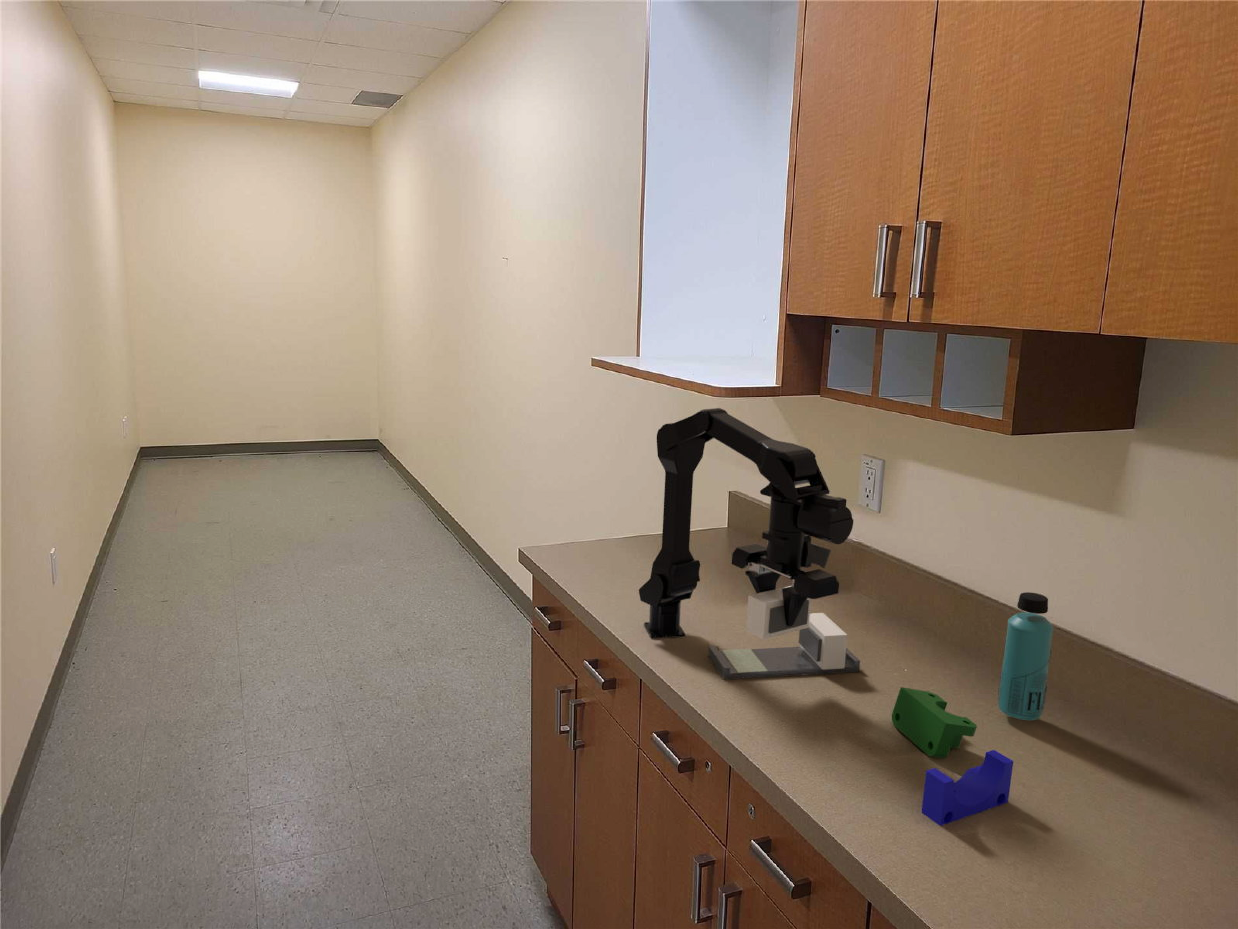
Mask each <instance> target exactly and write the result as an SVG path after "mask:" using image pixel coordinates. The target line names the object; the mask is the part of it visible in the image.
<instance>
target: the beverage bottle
mask: <svg viewBox="0 0 1238 929" xmlns="http://www.w3.org/2000/svg"><path fill="white" fill-rule="evenodd" d="M1017 609H1019V610H1021V611H1022V612H1018V613H1015V614H1014V615H1012V616H1011V617H1010V618H1008V619H1007V629H1006V637H1005V646H1004V647H1005V648H1004V653H1003V654H1004V655H1003V658H1002V661H1003V662H1002V666H1001V674H1000V675H999V677H1000V678H999V680H1000V681H999V686H998V687H999V688H998V691H997V693H998V694H997V701H996V703H997V705H998V709H999V710H1000V711H1001V713H1003V714H1005V715H1007V716H1009V717H1011V718H1014V719H1018V720H1022V721H1023V720H1024V721H1036V720H1038V719H1040V718H1041V717H1042V715H1043V712H1044V709H1045V708H1044V707H1045V706H1044V705H1045V703H1046V695H1047V683H1048V672H1049V666H1050V664H1051V662H1050V659H1051V656H1052V639H1053V632H1054V625H1052V623H1051V622H1050V621H1049V620H1048V619H1047V618H1046V617H1045V616H1043V615H1041V614H1047V613H1048V610H1049V598H1048V597H1047V596H1046V595H1043V594H1041V593H1036V592H1032V591H1031V592H1029V591H1028V592H1027V591H1026V592H1021V593H1020V594H1019V597H1018V601H1017Z"/></svg>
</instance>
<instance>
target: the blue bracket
mask: <svg viewBox="0 0 1238 929" xmlns="http://www.w3.org/2000/svg"><path fill="white" fill-rule="evenodd" d="M1013 767H1014V760H1013V759H1011V758H1009V757H1007V756H1005V755H1003V753H1000V752H998V751H997V750H995V749H992V750H988V751H986V752H985V754H984V759H983V762H982V765H978V766H977V765H976V766H974V767H971V768H969V769H967V770H966V771H965V773H964V774H963V775H961V777H960V778H959V779H958V780H956V781H955V780H954V779H953V778H951V777H950V776H948V775H947V774H945V773H944V772H942V771H941V770H939V769H937V768H935V767H934V768H931V769H927V770H926V771H925V776H924V778H925V779H924V787H923V788H924V789H923V795H922V804H921V814H922V815H924V816H925V817H927V818H928V819H929V820H931V821H933V822H934V823H935V824H937V825H938V827H939V826H940V827H941V826H944V825H947V824H949V823H953V822H956V821H958V820H962V819H964V818H966V817H970V816H973V815H975V814H978V813H981V812H984V811H986V810H987V811H988V810H990V809H993V808H995V807H998V806H1001V805H1004V804H1006V803H1007V804H1008V803H1009V796H1010V789H1011V782H1012V775H1013Z"/></svg>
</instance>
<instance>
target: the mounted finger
mask: <svg viewBox="0 0 1238 929" xmlns="http://www.w3.org/2000/svg"><path fill="white" fill-rule="evenodd" d="M798 634H799V636H798V645H799V646H798V647H801V648H802V649H803V650H804V651H805V652H806V653H807V654H808V655H809V656H810V657H811V658H812V659H813V660H814V662H815V663H816V664H817V665H818V666H819V667H820V668H821V669H822V670H824V669H841V668H844V667H845V656H846V648H847V642H848V634H847V633H846V632H845V631H844V630H843V629H841V627H839V626H838V625H837V624H836V623H835V622H834V621H832V619H831V618H829V617H828V615H826V614H825V613H824V612H814V613H813V612H812V613H811V612H810V618H809V628H805V629H801V630H799V633H798Z"/></svg>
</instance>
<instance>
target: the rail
mask: <svg viewBox="0 0 1238 929" xmlns="http://www.w3.org/2000/svg"><path fill="white" fill-rule="evenodd" d="M707 654H708V657H707V658H708V659H709V660H710V662H711V663H712V665H713V666H714V667H715V669H716V670H717V672H718V674H719V675H720V676H721V678H722V680H735V679H734V678H740V679H755V678H757V677H758V678H771V677H770V676H775V677H789V676H788V675H792V676H804V675H805V676H806V674H808V675H823V674H824V675H827V674H837V673H838V674H839V673H840V674H841V673H843V674H844V673H855V672H856V673H859V672H860V666H861V665H860V664H861V659H859V658H858V657H857V655H855V654H854V653H852V651H850V650H849V648H847V647H846V656H845V667H844V668H841V669H824V670H822V669H821V668H820V667H819V666H818V665H817V664H816V663H815V662H814V660H813V659H812V658H811V657H810V656H809V655H808V654H807V653H806V652H805V651H804V650H803V649H802V648H801V647H800V646H787V647H786V646H785V647H768V648H766V647H765V648H737V649H736V648H735V649H722V650H718V649H717V648H716V646H715V645H708V653H707ZM802 674H804V675H802ZM782 675H783V676H782ZM785 675H787V676H785ZM758 678H757V679H758Z"/></svg>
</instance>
